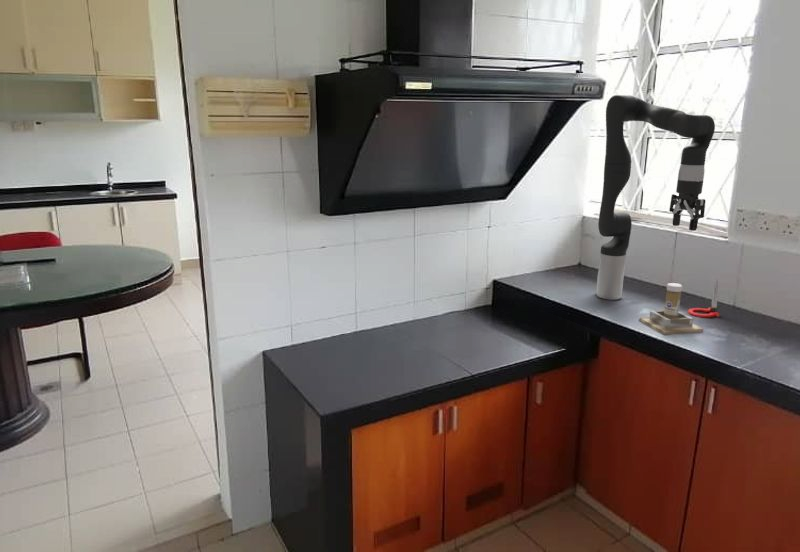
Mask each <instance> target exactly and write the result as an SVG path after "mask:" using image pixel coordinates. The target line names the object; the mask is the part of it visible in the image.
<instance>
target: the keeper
mask: <svg viewBox="0 0 800 552" xmlns="http://www.w3.org/2000/svg"><path fill="white" fill-rule="evenodd" d="M638 320H639V321H640V322H641V323H643V324H644V325H646V326H648V327H650V328H652V329H653V330H655V331H657V332H658V333H660V334H662V335H664V336H665V335H667V334H668V335H678V334H692V333H702V332H704V328H702V327H700V326H698V325H696V324H694V318H693V317H691V316H690V315H687V314H685V313H683V312H682V311H680V310H679V313H678V318H673V319H668V318H666V317H664V309H662V310H658V309H657V310H650V312H649V316H645V317H644V316H642V317H638ZM668 335H667V336H668Z"/></svg>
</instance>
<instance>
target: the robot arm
mask: <svg viewBox="0 0 800 552" xmlns="http://www.w3.org/2000/svg"><path fill="white" fill-rule="evenodd" d="M628 122H644V123H648V124H649V125H651V126H653V127H655V128H657V129H659V130H664V131H667V132H671V133H674V134H676V135H678V136H681V137H683V138H687V139H691V142H690V144H688V145H686V146H684V147H683V148H682V150H681V157H680V166H679V168H678V174H677V182H676V188H675V192H676V193H675V194H673V193H672V194H671V198H670V203H669V204H670V205H669V210H668V211H669V212H670V213H672V226H674V227H676V226H677V227H679V226H680V223H681V218H682V217H681V216H682V215H681V214H682V213H683V212H684V211H686V212H687V214H689V216H690V220H689V226H688V227H689V228H688V231H691V232H692V231H697V228H698V224H699V220H700V219H704V217H705V212H706V211H705V210H706V199H705V198H699V195H701V194H702V193H703V185H704V178H705V164H706V158H707V157H706V156H707V151H708V149H709V147H710V145H711V142H712V139H713V136H714V134H715V130H716V123H715V120H714V118H713V117H712V116H711V115H707V114H689V113H686V112H685V111H683V110H680V109H679V110H678V109H676V108H669V107H665V106H660V105H655V104H653V103H649V102H647V101H645V100H643V99H641V98H639V97H636V96H635V95H631V94H630V95H629V94H627V95H626V94H614V95H613V96H611V97H610V98H609V100H608V101H607V104H606V108H605V132H606V133H605V135H606V136H605V137H606V139H605V141H606V142H605V157H604V165H603V167H604V168H603V185H602V186H603V187H602V197H601V203H600V209H599V215H598V225H597V226H598V233H599V234H600V235H601V236H602V237H607V238H612V239H611V240H609V241H608V242H607V243H604V244H602V245H601V247H600V256H599V266H598V271H597V277H596V290H595V294H596V297H597V298H600V299H604V300H613V301H614V300H620V299H622V296H623V295H622V294H623V285H624V279H625V278H624V276H625V268H626V267H625V266H626V257H627V251H628V248H629V244H630V240H631V239H630V238H631V233H632V218H631V214H629V213H628V212H626V211H615V207H616V202H617V199H618V197H619V196H620V194H621V192H622V191H623V190H624V188H625V186H626V185H627V183H628V182H629V180H630V177H631V171H632V155H631V152H630V150H629V147H628V145H627V143H626V140H625V137H624V136H625V135H624V123H628Z"/></svg>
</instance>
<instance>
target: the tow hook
mask: <svg viewBox="0 0 800 552" xmlns="http://www.w3.org/2000/svg"><path fill="white" fill-rule="evenodd" d="M718 281H719V279H718V278H716V279H715V280H714V285H713V294H712V295H713V296H712V300H711V304H710V305H711V306H709V307H708V308H703V307H702V308H701V307H692V308H689V309H688V310H687V313H688V314H689V316H690V315H691V316H694V317H697V318H713V317H716V318H720V316H721V314H720V313H719V312H718V307H717V306H718V300H717V298H718V289H719V286H718V283H719V282H718ZM697 312H705V313H704V314H703V313H697Z"/></svg>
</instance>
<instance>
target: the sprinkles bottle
mask: <svg viewBox="0 0 800 552" xmlns="http://www.w3.org/2000/svg"><path fill="white" fill-rule="evenodd" d="M682 292H683V285H682V284H681V283H677V282H676V283H674V282H669V283H667V286H666V295H665V303H664V308H663V310H664V317H666V318H668V319H673V318H678V313H679V311H680V303H681V294H682Z"/></svg>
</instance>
